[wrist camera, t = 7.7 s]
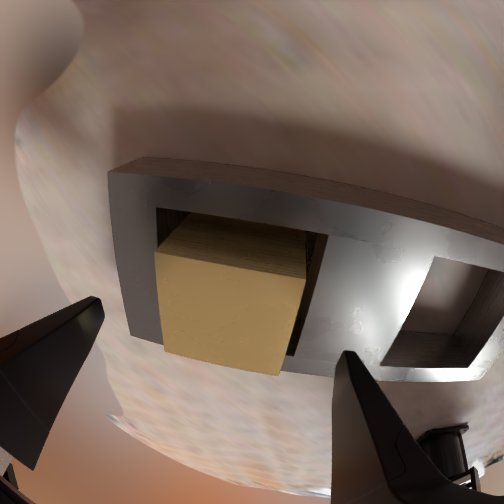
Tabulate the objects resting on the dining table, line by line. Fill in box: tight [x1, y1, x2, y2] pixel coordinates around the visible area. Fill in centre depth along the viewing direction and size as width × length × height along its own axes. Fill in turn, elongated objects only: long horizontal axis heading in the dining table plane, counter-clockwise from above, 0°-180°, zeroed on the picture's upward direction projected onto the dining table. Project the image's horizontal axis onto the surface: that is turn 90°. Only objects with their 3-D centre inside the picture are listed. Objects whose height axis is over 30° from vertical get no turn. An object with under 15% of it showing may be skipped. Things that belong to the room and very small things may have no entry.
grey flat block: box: [108, 157, 504, 382], centre depth 13 cm, size 22×9×3 cm, turn 84°
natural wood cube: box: [154, 212, 306, 376], centre depth 12 cm, size 5×5×5 cm
